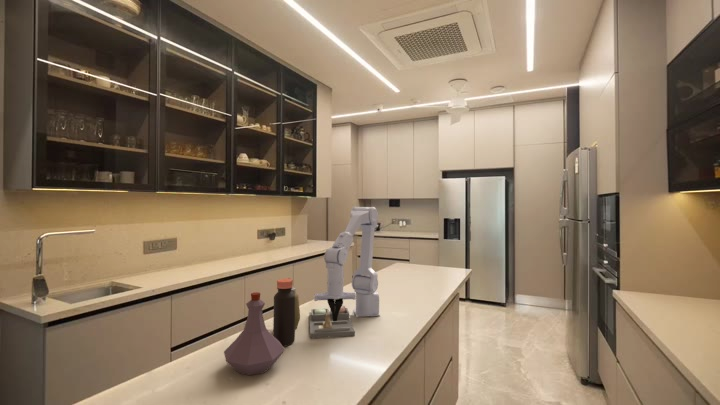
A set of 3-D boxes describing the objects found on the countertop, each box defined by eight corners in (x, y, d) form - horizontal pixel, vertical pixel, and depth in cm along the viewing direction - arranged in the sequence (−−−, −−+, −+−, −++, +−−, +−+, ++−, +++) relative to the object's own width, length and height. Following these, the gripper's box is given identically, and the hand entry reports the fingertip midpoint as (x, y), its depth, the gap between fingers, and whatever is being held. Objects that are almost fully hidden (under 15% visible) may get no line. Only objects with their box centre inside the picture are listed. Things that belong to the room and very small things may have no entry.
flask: (262, 348, 101) (263, 283, 101) (297, 364, 91) (298, 292, 91) (210, 368, 88) (211, 294, 89) (243, 390, 78) (245, 306, 78)
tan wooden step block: (331, 323, 118) (331, 312, 118) (332, 328, 113) (332, 316, 113) (322, 324, 117) (323, 312, 117) (323, 329, 112) (323, 317, 112)
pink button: (344, 310, 129) (344, 305, 129) (345, 313, 125) (346, 308, 125) (333, 310, 128) (333, 305, 128) (334, 314, 124) (334, 309, 124)
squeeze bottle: (304, 326, 119) (305, 277, 120) (291, 334, 112) (291, 281, 112) (286, 322, 123) (287, 275, 123) (272, 330, 116) (273, 279, 116)
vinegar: (268, 344, 103) (269, 281, 104) (281, 336, 110) (281, 277, 110) (287, 348, 101) (288, 283, 101) (298, 339, 108) (299, 279, 108)
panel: (346, 314, 133) (346, 305, 133) (354, 335, 111) (354, 325, 111) (309, 316, 131) (309, 307, 131) (310, 338, 109) (310, 327, 109)
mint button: (325, 313, 128) (325, 308, 128) (326, 317, 124) (326, 312, 124) (314, 314, 127) (314, 308, 127) (314, 317, 123) (314, 312, 123)
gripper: (315, 285, 110) (314, 325, 110) (357, 283, 113) (356, 323, 113) (314, 280, 117) (313, 318, 117) (354, 279, 120) (353, 316, 120)
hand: (334, 320), depth 115 cm, fingers closed
